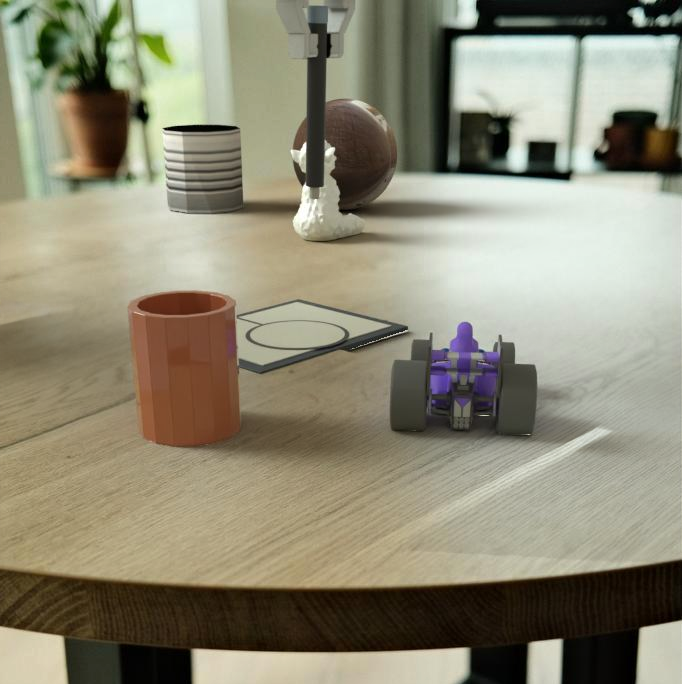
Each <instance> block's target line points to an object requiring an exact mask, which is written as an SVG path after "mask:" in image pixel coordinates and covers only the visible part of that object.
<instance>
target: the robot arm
mask: <svg viewBox="0 0 682 684" xmlns="http://www.w3.org/2000/svg"><path fill="white" fill-rule="evenodd" d="M309 1H310V0H275V9H276V12H277V14H278V16H279V18H280V21H281V23H282V25H283V27H284V30H285V32H286V34H287V35H288V36H287V37H288V39H287V40H288V41H287V43H288V56H289V58H290V59H291V60H307V59H315V58H317V55H318V48H317V45H318V34H309V33H311V32H310V29H309V26H308V23H307V16H306V14H305V11H304V9H307V8H308V6H309V5H310V4H309V3H310V2H309ZM323 6H328V23H327V59H341V58H343V56H344V53H345V34H346V32H347V29H348V27H349V25H350V22H351V20H352V18H353V16H354V14H355V11H356V0H323Z"/></svg>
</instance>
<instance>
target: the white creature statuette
mask: <svg viewBox="0 0 682 684" xmlns="http://www.w3.org/2000/svg"><path fill="white" fill-rule="evenodd" d="M334 151H335V148H334V147H331V145H330V144H329V143H327V141H326V140H325V161H324V187H320V197H319V199H310V187H307V186H306V182H305V185H304V186H303V187H302V188H301V191H302V192H301V195H300V196H301V198H300V202H301V203H300V204H299V208H298V211H297V212H296V214H295V216H293V220H292V225H293V229H294V232H295V233H297V235H299V236H300V237H301V238H302V239H303V240H304V241H305V240H306V241H315V242H324V241H327V242H328V241H333V240H334V241H336V240H338V239H342V238H346V237H351V236H355V235H360V234H361V232H363V231H364V230H365V227H366V221H365V219H364V218H361V217H359V216H358V215H356V214H353V213H348V214H343V213H341V212H340V209H339V207H338V202H339V200H340V198H339V195H340V191H339V189H338V186H337V185H336V180H335V179H333V177H331V175H330V173H331V171H332V170H333V169H334V168H335V160H336V156H334ZM290 153H291V156H292V161H293V160H294V161H295V162H297V163H299V166H300V167H301V170H302V171H303V172H305V173H306V142H305V143H304V144H303V147H302V148H301V150H300V151H298V150H293V149H290Z"/></svg>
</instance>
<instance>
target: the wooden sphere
mask: <svg viewBox="0 0 682 684" xmlns="http://www.w3.org/2000/svg"><path fill="white" fill-rule="evenodd" d="M325 140H326V141H327V143H329V144H330V145H331V147H334V148H335V151H334V156H336V160H335V168H334V169H333V170H332V171H331V173H330V175H331V177H333V179H335V180H336V185H337V186H338V189H339V191H340V195H339V198H340V200H339V202H338V207H339V211H340V210H341V211H342V210H344V211H348V210H349V211H350V210H355V209H359V208H363V207H365V206H367V205H369V204H370V203H373V202H374V201H375V200H377V199H378V198H379V197H380V196H381V195H382V194H383V193H384V192H385V191H386V189H387V188H388V186H389V185H390V183H391V182H392V179H393V177H394V175H395V172H396V168H397V163H398V145H397V140H396V136H395V134H394V131H393V129H392V126H391V125H390V124H389V122H388V120H387V119H386V118H385V117H384V115H383V114H382V113H381V112H380V111H379V110H378V109H377V108H375V107H373V106H372V105H370V104H368V103H367V102H364V101H361V100H358V99H354V98H336V99H332V100H329V101H326V112H325ZM305 142H306V117H304V118H303V120H302V121H301V123H300V125H299V126H298V128H297V130H296V133H295V136H294V139H293V144H292V150H298V151H300V150H301V148H302V147H303V144H304V143H305ZM292 165H293V169H294V173H295V175H296V178H297V180H298V182H299V184H300V185H301V187H302V188H303V186H304V185H305V182H306V173H305V172H303V171H302V170H301V167H300V166H299V163H297V162H295V161H294V160H293V159H292Z"/></svg>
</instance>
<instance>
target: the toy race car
mask: <svg viewBox="0 0 682 684" xmlns="http://www.w3.org/2000/svg"><path fill="white" fill-rule="evenodd" d="M433 336H434V333H433V332H429V339H422V338H421V339H420V338H419V339H418V338H414V339H413V340H412V342H411V347H410V348H411V350H410V359H394V360H393V363H392V367H391V375H390V387H389V388H390V389H389V427H390V430H391V429H392V430H391V431H403V430H416V431H415V432H424V431H425V430H426V427H427V418H428V417H427V415H428V416H430V415H433V414H446V415H445V416H447V417H448V419H449V422H450V426H451V430H461V431H463V430H465V431H470V430H471V428H472V425H473V424H472V423H473V420H474V418H475V417H479V416H478V415H491V416H492V418H495V430H497V431H496V433H497V432H498V433H500V434H499V435H503V434H531V435H533V431H534V429H535V422H536V415H537V402H538V372H537V371H538V370H537V367H536V365H535V364H533V363H516V344H515V343H514V341H513V342H511V341H503V336H502V334H498V337H497V341H495V342H494V344H493V348H492V351H486V350H484V349H482V348H480V347H479V341H478V340H477V339H475V338H474V329H473V325H472V323H470V322H468V321H461V322H460V323H459V324H458V325H457V327H456V336H455V337H454V338H452V339H451V340H450V341H449V348H448V347H444V348H442V349H433V348H434V347H433V346H434V345H433V339H434V338H433ZM431 413H432V414H431ZM424 429H425V430H424ZM498 433H497V434H498Z"/></svg>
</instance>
